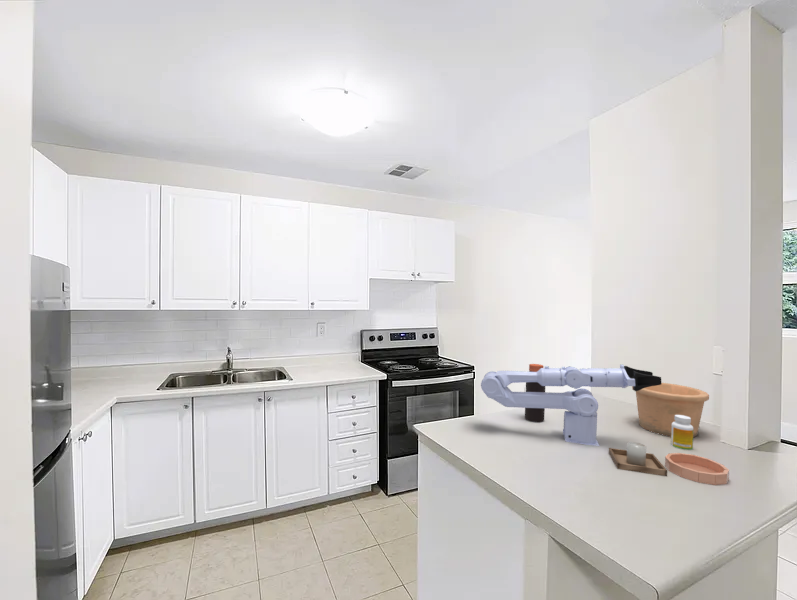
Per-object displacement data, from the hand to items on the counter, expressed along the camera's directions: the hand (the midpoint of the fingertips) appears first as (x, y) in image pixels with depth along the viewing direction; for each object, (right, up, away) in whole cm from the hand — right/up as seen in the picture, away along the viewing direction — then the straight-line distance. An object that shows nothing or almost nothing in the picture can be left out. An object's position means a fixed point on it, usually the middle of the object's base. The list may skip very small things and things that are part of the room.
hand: (656, 378), depth 113 cm
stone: (-13, -21, -11) cm, 27 cm away
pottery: (+17, -22, +21) cm, 35 cm away
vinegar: (-27, -21, +27) cm, 43 cm away
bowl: (0, -22, -15) cm, 26 cm away
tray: (-13, -21, -11) cm, 27 cm away
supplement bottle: (+10, -22, +3) cm, 24 cm away
